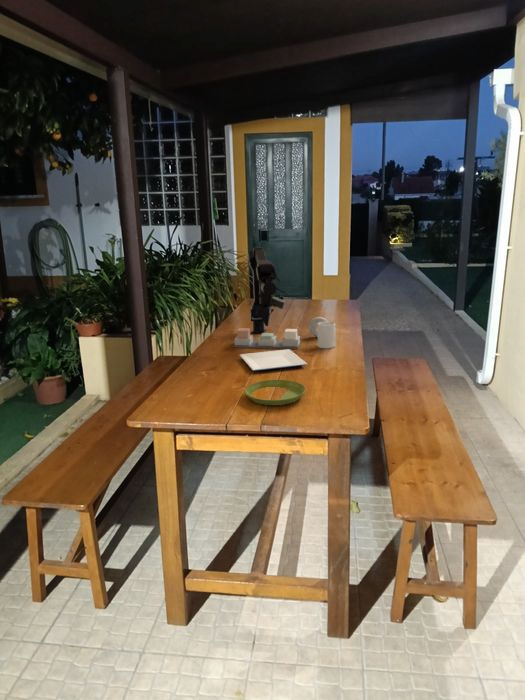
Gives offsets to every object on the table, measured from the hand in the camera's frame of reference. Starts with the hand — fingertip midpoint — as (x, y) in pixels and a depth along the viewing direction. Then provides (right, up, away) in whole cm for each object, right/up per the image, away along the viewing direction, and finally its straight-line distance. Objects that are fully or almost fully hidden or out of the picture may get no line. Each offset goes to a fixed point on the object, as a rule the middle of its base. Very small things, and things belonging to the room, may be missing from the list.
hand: (266, 325), depth 248 cm
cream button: (+11, -6, 0) cm, 12 cm away
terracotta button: (-11, -5, +4) cm, 13 cm away
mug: (+27, -9, 0) cm, 29 cm away
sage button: (0, -8, +2) cm, 8 cm away
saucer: (+2, -27, -60) cm, 66 cm away
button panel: (0, -9, +3) cm, 9 cm away
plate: (+2, -17, -23) cm, 28 cm away
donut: (+25, -5, +13) cm, 29 cm away
